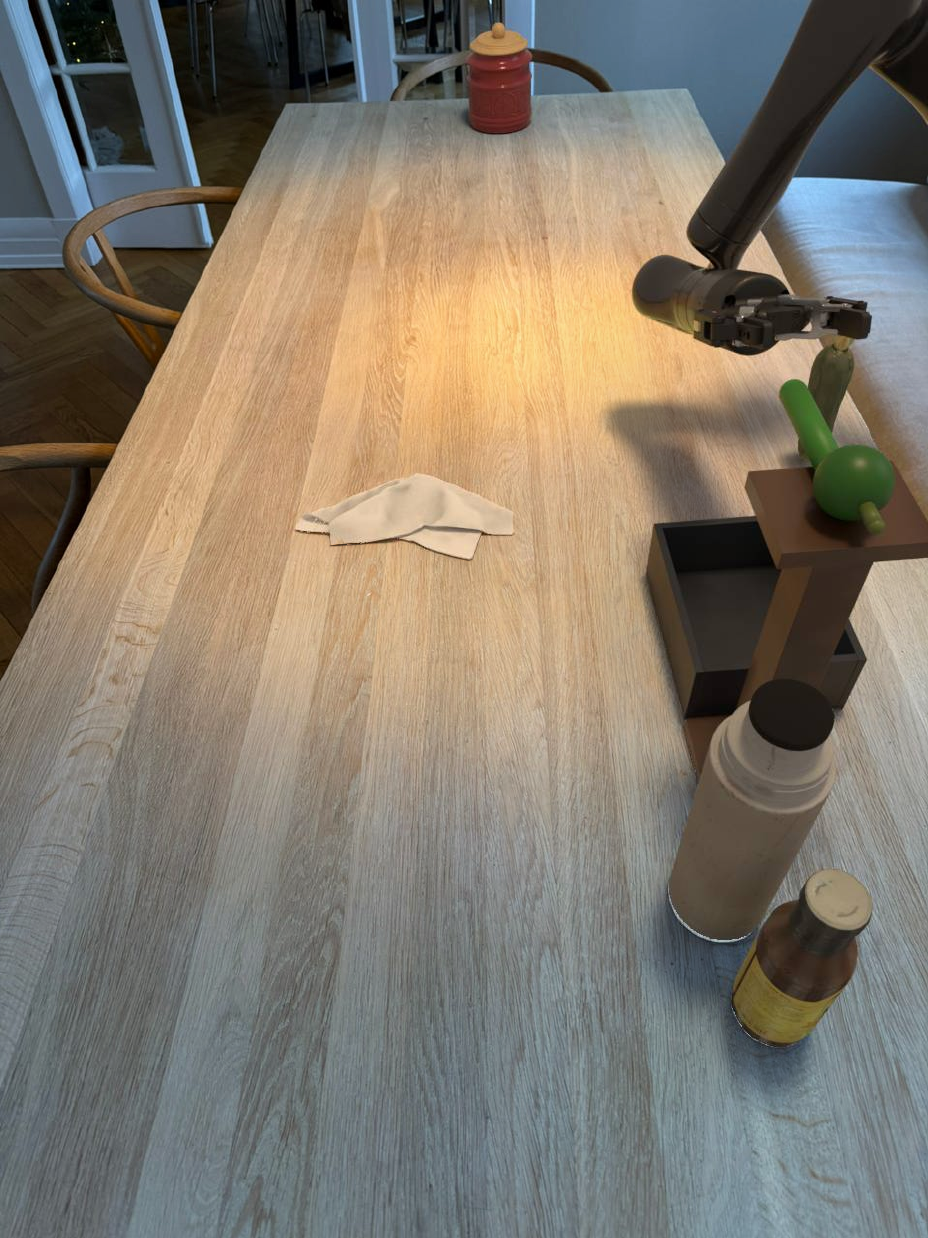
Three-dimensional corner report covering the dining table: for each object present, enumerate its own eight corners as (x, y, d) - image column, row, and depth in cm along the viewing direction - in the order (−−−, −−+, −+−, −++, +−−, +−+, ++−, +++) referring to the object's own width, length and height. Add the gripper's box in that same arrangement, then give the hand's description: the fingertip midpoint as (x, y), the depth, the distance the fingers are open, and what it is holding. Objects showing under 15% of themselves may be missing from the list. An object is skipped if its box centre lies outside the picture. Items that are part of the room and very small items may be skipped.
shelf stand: (786, 718, 85) (892, 459, 61) (812, 792, 80) (939, 541, 56) (683, 726, 85) (748, 470, 61) (702, 800, 80) (782, 553, 56)
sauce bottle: (814, 1057, 66) (903, 965, 51) (729, 1044, 67) (790, 950, 52) (807, 970, 70) (886, 861, 55) (726, 959, 71) (782, 848, 56)
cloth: (525, 488, 109) (525, 474, 107) (504, 568, 100) (504, 554, 98) (325, 466, 113) (322, 452, 111) (289, 540, 105) (285, 526, 103)
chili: (818, 393, 66) (835, 336, 62) (905, 556, 55) (932, 499, 51) (754, 398, 66) (768, 342, 62) (828, 562, 55) (850, 505, 51)
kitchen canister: (502, 104, 188) (501, 7, 174) (544, 120, 181) (546, 21, 168) (456, 122, 183) (450, 24, 169) (497, 140, 176) (495, 38, 162)
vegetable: (823, 475, 107) (873, 328, 92) (786, 472, 108) (830, 326, 93) (819, 451, 110) (867, 305, 95) (783, 449, 111) (825, 303, 96)
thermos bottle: (700, 835, 78) (766, 635, 56) (782, 891, 74) (886, 700, 53) (648, 901, 74) (699, 714, 53) (732, 964, 70) (823, 791, 49)
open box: (784, 563, 98) (801, 511, 92) (843, 708, 86) (867, 659, 80) (645, 574, 98) (653, 523, 92) (683, 720, 86) (695, 672, 80)
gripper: (668, 276, 85) (737, 291, 71) (807, 263, 87) (904, 275, 72) (666, 356, 89) (732, 385, 74) (801, 342, 90) (892, 368, 75)
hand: (817, 331), depth 73 cm, fingers open, 8 cm apart
